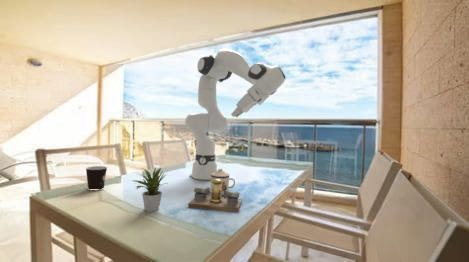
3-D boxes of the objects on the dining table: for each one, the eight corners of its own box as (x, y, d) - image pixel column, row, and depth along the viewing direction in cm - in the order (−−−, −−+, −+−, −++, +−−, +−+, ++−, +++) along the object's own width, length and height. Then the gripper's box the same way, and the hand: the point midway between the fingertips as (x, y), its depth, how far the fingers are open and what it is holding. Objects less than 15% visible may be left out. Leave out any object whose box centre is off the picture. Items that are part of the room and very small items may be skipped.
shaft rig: (197, 198, 112) (197, 183, 112) (241, 202, 109) (242, 187, 109) (188, 207, 100) (188, 190, 100) (237, 212, 97) (238, 195, 97)
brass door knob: (211, 198, 107) (212, 177, 107) (223, 199, 106) (224, 178, 106) (209, 202, 102) (210, 180, 102) (220, 203, 102) (221, 181, 101)
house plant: (141, 201, 104) (142, 162, 104) (174, 203, 104) (175, 163, 103) (125, 213, 90) (126, 168, 89) (163, 215, 90) (165, 170, 89)
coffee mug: (95, 192, 113) (95, 170, 113) (80, 189, 116) (81, 168, 116) (115, 186, 124) (115, 166, 124) (101, 184, 127) (102, 164, 127)
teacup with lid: (209, 195, 118) (210, 170, 117) (210, 189, 127) (211, 166, 126) (235, 196, 118) (236, 171, 118) (234, 190, 127) (235, 167, 127)
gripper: (253, 93, 126) (232, 112, 128) (249, 87, 106) (225, 109, 108) (261, 102, 126) (241, 121, 127) (259, 98, 105) (235, 120, 107)
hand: (233, 116), depth 117 cm, fingers open, 8 cm apart
